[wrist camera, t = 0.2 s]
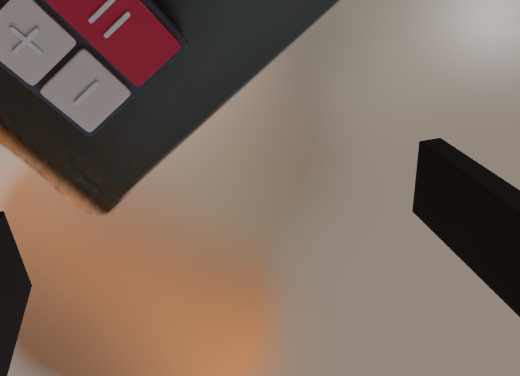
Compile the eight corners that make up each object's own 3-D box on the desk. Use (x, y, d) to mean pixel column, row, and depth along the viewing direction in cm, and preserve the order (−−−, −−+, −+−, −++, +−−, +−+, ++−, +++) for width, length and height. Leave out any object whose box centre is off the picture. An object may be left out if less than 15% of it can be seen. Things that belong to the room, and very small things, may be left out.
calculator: (90, 143, 38) (-103, -12, 30) (91, 123, 42) (-80, -20, 34) (192, 47, 36) (18, -143, 28) (184, 34, 40) (28, -137, 32)
